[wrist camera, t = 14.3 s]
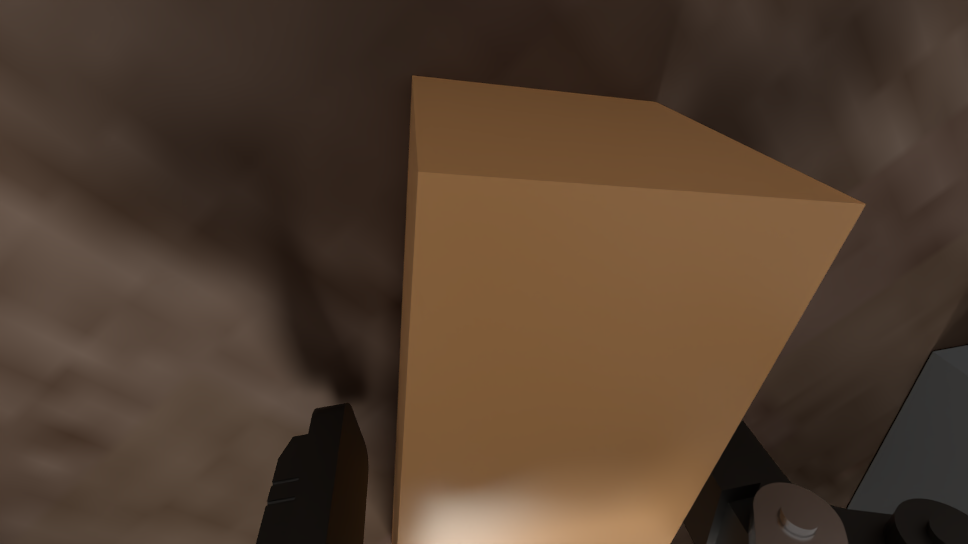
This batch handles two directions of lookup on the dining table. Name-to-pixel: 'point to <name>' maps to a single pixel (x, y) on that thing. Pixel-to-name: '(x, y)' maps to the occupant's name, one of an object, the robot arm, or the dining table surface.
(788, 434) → the dining table surface
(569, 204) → the light orange bar
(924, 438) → the box
